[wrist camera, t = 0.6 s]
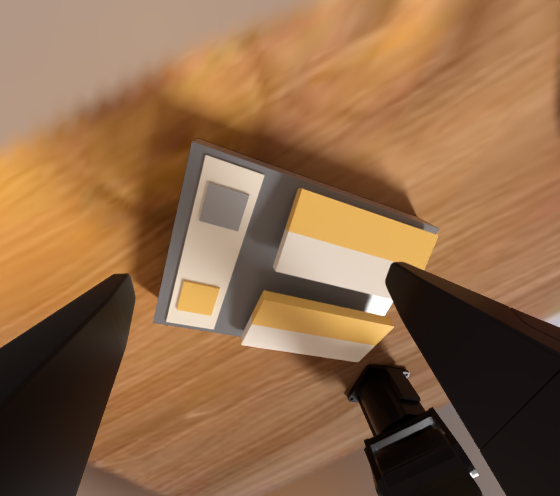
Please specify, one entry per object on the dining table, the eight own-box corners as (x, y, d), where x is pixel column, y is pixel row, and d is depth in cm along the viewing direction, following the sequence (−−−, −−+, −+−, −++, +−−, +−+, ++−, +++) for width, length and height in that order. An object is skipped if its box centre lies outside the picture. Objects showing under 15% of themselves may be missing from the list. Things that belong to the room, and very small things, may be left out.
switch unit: (348, 334, 30) (362, 360, 27) (162, 300, 25) (150, 328, 21) (417, 216, 25) (445, 231, 22) (197, 138, 19) (190, 142, 16)
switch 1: (401, 298, 23) (409, 303, 22) (272, 267, 20) (275, 271, 19) (429, 233, 22) (438, 235, 21) (298, 188, 18) (302, 188, 18)
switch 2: (355, 353, 27) (358, 362, 26) (241, 334, 24) (241, 344, 23) (389, 317, 24) (394, 326, 23) (263, 290, 20) (263, 300, 20)
